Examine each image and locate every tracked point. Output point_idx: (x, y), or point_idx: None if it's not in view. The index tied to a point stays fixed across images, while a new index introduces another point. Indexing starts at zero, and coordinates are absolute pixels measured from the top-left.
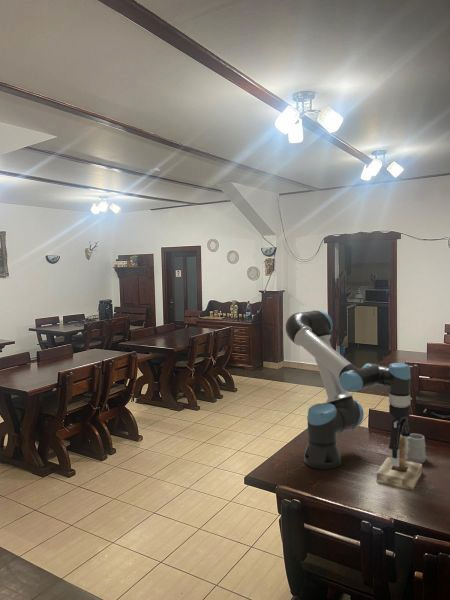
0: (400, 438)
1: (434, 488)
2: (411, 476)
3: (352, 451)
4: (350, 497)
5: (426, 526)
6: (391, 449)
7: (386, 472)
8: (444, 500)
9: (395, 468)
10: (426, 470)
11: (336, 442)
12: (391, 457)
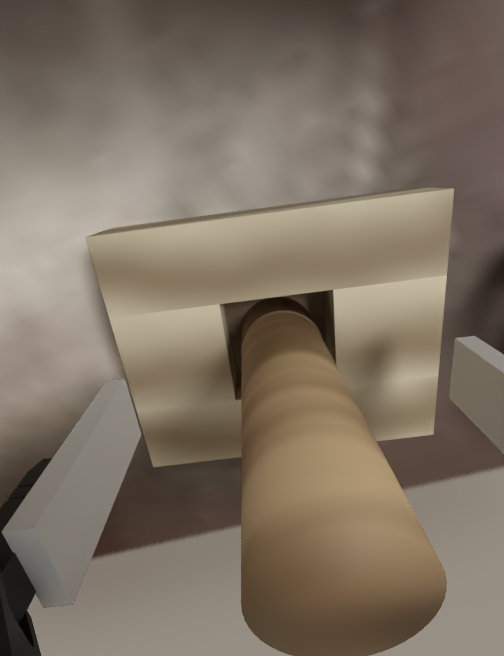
0: (368, 603)
1: None
2: (206, 443)
3: None
4: None
5: None
6: (14, 517)
7: (145, 300)
8: (173, 540)
9: (247, 332)
10: (448, 407)
11: None
12: (74, 431)
